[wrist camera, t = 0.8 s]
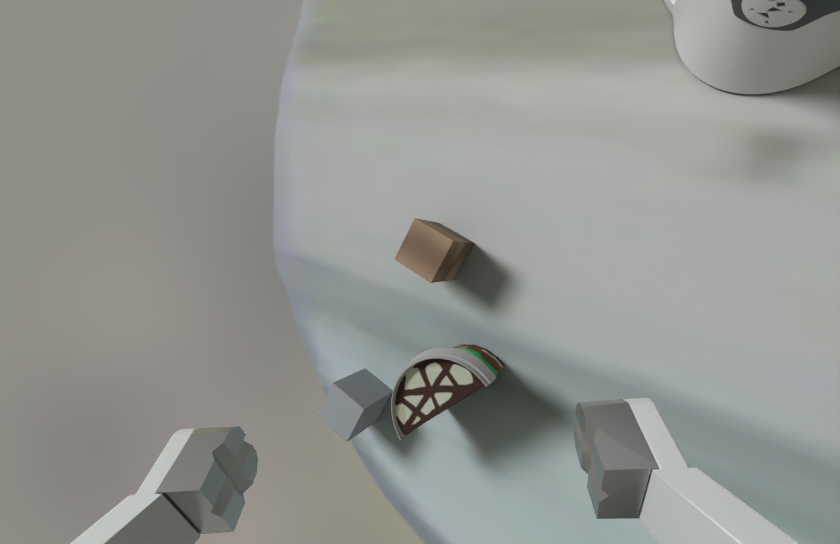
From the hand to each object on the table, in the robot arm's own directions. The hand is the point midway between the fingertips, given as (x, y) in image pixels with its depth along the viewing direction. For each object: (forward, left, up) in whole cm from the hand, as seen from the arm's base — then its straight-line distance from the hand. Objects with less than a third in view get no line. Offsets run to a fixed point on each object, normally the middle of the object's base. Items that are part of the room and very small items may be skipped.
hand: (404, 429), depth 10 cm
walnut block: (+2, -14, -37) cm, 40 cm away
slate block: (+24, -14, -37) cm, 47 cm away
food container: (+13, -6, -38) cm, 40 cm away
